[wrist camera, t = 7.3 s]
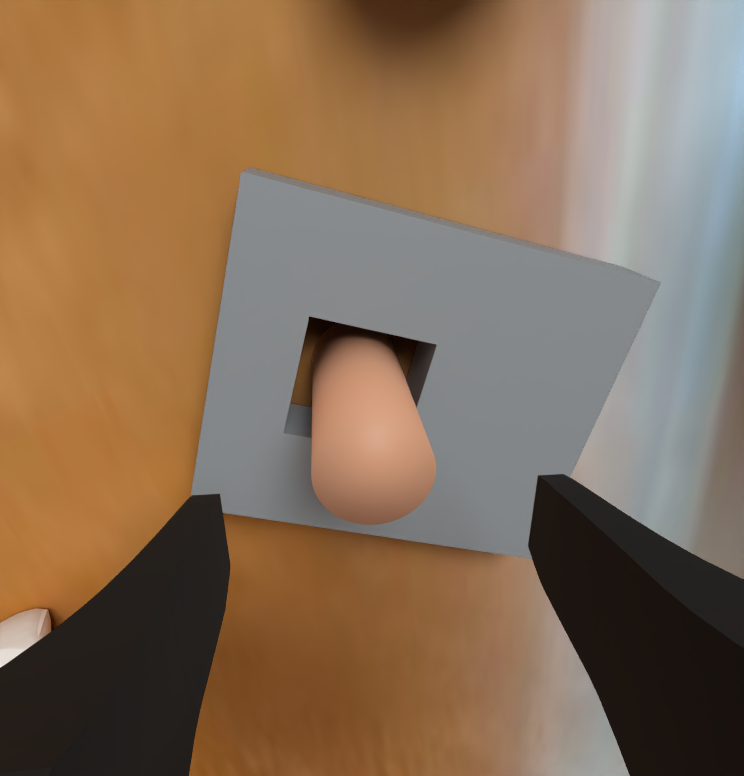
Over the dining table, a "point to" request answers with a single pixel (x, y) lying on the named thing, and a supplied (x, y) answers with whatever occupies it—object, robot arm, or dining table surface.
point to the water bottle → (22, 632)
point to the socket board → (430, 361)
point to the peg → (366, 430)
